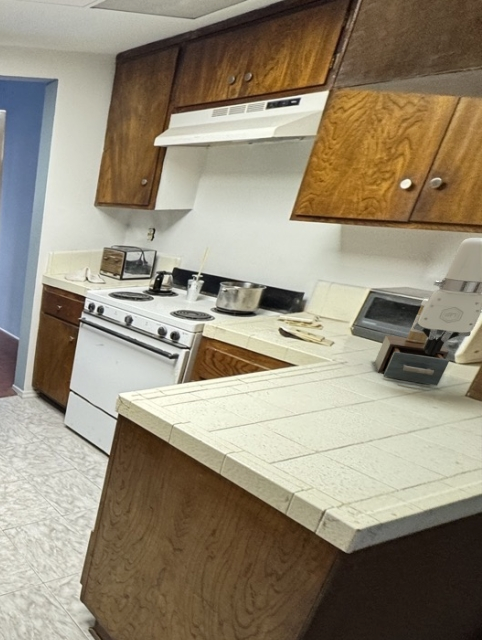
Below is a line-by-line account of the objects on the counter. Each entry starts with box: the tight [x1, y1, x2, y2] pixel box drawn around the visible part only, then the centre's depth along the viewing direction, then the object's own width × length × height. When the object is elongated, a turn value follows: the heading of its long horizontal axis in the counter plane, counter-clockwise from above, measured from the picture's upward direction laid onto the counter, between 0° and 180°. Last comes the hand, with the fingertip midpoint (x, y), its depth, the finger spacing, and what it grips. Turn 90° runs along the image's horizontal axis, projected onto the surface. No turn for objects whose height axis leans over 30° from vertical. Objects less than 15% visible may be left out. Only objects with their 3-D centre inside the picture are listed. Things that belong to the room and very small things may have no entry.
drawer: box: [383, 347, 450, 387], centre depth 143 cm, size 18×11×8 cm, turn 139°
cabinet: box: [374, 334, 449, 374], centre depth 150 cm, size 15×13×10 cm
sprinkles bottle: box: [406, 298, 429, 343], centre depth 147 cm, size 5×5×14 cm
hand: (429, 353), depth 130 cm, fingers closed
